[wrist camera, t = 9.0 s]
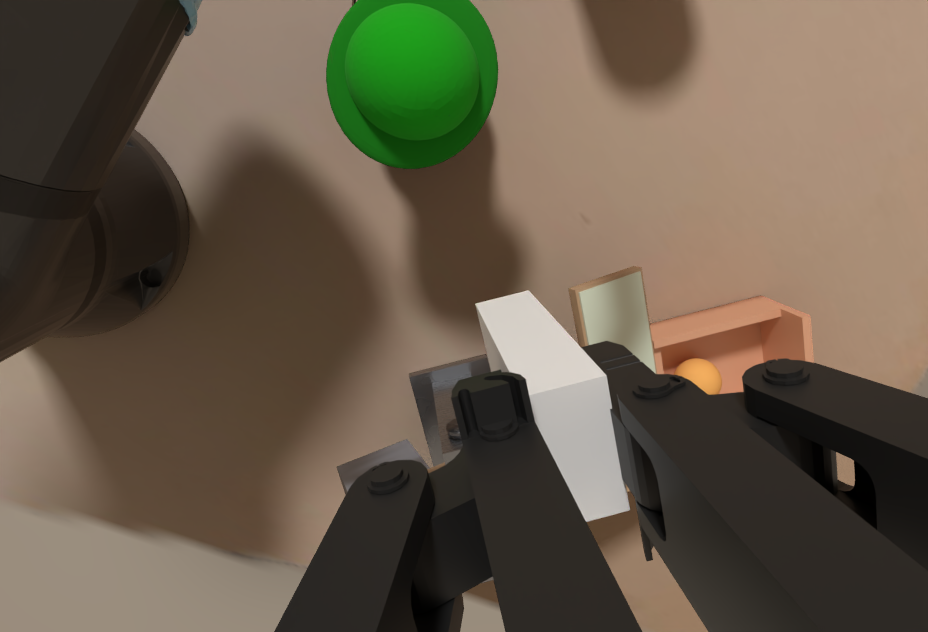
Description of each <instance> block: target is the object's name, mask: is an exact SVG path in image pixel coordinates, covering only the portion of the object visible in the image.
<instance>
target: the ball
mask: <svg viewBox="0 0 928 632" xmlns="http://www.w3.org/2000/svg"><path fill="white" fill-rule="evenodd" d="M674 375H678V376H682V377H684V378H686V379H688V380H690V381H692V382H693V383H694V384H696V385H697V386H698V387H699V388H700V389H702V390H703V391H704V392H705V393H707V394H708V395H711V394H719V392H720V390H721V387H722V378H721V374H720V372H719V370H718V369H717V368H716V366H715V365H713V364H712V363H711V362H709V361H707V360H704V359H699V358H694V359H689V360H686V361H684V362H683V363H681V364H680V365H679V366H678V367H677V369H676V370H675V372H674Z"/></svg>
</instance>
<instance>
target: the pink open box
mask: <svg viewBox="0 0 928 632" xmlns="http://www.w3.org/2000/svg"><path fill="white" fill-rule="evenodd" d="M650 328H651V335H652V342H653V348H654V355H655V362H656V368H657V374H672V375H674V372H675V370H676V369H677V367H678V366H679V365H680V364H681V363H683V362H684V361H686V360H689V359H694V358H699V359H704V360H707V361H709V362H711V363H712V364H713V365H715V366H716V368H717V369H718V370H719V372H720V374H721V378H722V387H721V390H720V392H719V394H725V393H736V392H744V391H743V382H742V376H743V374H744V373H745V371H746V370H747V369H749V368H751V367H753V366H754V365H757V364H761V363H764V362H766V361H768V360H773V359H776V360H778V359H783V358H787V359H790V360H802V361H807V362H812V363H814V358H813V345H812V331H811V317H810V315H808V314H805V313H803V312H800V311H798V310H795V309H793V308H790V307H788V306H786V305H783V304H781V303H778V302H776V301H773V300H771V299H769V298H766V297H764V296H757V297H753V298H749V299H745V300H742V301H738V302H734V303H730V304H726V305H722V306H718V307H714V308H710V309H706V310H702V311H698V312H694V313H690V314H687V315H683V316H679V317H675V318H671V319H667V320H663V321H659V322H655V323H651V324H650Z"/></svg>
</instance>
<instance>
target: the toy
mask: <svg viewBox="0 0 928 632" xmlns="http://www.w3.org/2000/svg"><path fill="white" fill-rule="evenodd" d="M497 80H498V62H497V53H496V49H495V44H494V40H493V38H492V35H491V32H490V30H489V27H488V26H487V24H486V22H485V20H484V18H483V17H482V15H481V14H480V12H479V11H478V10H477V8H476V7H475V6H474V5H473V4H472V3H471V2H470V1H469V0H358V1H357V2H356V0H352V7H351V8H350V10H349V11H348V12H347V13H346V15H345V16H344V18H343V19H342V21H341V22H340V24H339V26H338V28H337V30H336V32H335V34H334V37H333V40H332V43H331V46H330V50H329V54H328V59H327V69H326V82H327V91H328V96H329V100H330V105H331V108H332V111H333V113H334V116H335V118H336V120H337V122H338V124H339V126H340V127H341V129H342V131H343V132H344V134H345V135H346V136H347V137H348V139H349V140H350V141H351V142H352V143H353V144H354V145H355V146H356V147H357V148H358V149H359V150H360V151H361V152H363V153H364V154H365V155H367V156H368V157H370V158H372V159H374V160H375V161H377V162H380V163H382V164H385V165H388V166H392V167H396V168H403V169H419V168H424V167H429V166H433V165H436V164H438V163H441V162H444V161H445V160H447V159H449V158H451V157H453V156H455V155H456V154H457V153H458V152H460V151H461V150H462V149H464V148H465V147H466V146H467V145H468V144H469V143H470V142H471V141H472V140H473V138H474V137H475V136H476V135H477V134H478V132H479V131H480V129H481V128H482V126H483V125H484V123H485V121H486V119H487V117H488V115H489V113H490V110H491V108H492V105H493V101H494V98H495V94H496V88H497Z"/></svg>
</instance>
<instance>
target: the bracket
mask: <svg viewBox="0 0 928 632" xmlns="http://www.w3.org/2000/svg"><path fill="white" fill-rule="evenodd" d="M489 372H491V370H490V366H489V362H488V357H487V355H486V354H484V355H480V356H476V357H472V358H468V359H465V360H461V361H457V362H453V363H449V364H445V365H441V366H437V367H433V368H429V369H425V370H421V371H417V372H413V373H409V378H410V381H411V385H412V389H413V392H414V396H415V400H416V403H417V407H418V411H419V414H420V418H421V422H422V425H423V429H424V433H425V436H426V440H427V444H428V447H429V451H430V455H431V458H432V462H433V466H437V465H439V464H442V463H444V462H445V465H446V464H447V463H449V462H450V461H451V460H453V459H454V458H455V457H456V456H457V455H458V454H459V452H460V450H461V448H462V446H463V444H462V440H461V436H460V432H459V428H458V424H457V420H456V416H455V412H454V408H453V404H452V400H451V395H452V389H453V388H454V386H455V385H456V383H457V382H458V380H461V379H465V378H469V377H473V376H477V375H481V374H485V373H489ZM491 580H494V579H493V577H491V578H489V579H487V580H485V581H484V582H487V581H491ZM484 582H482V583H484Z"/></svg>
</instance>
